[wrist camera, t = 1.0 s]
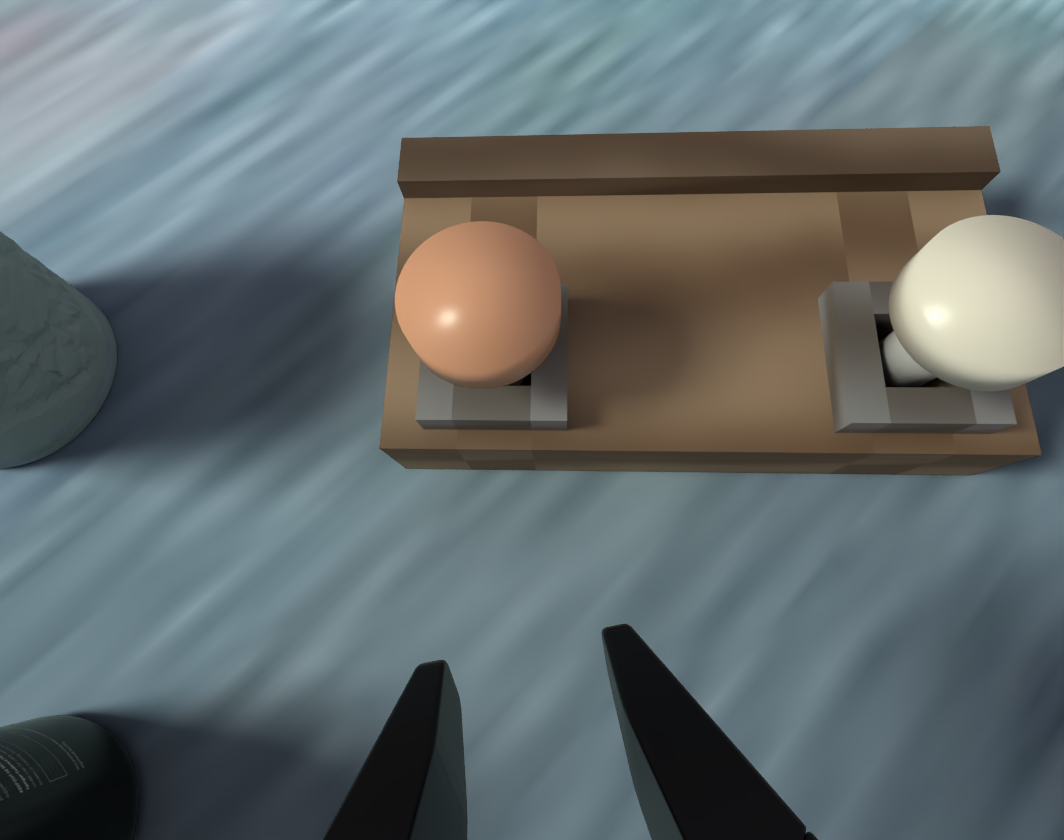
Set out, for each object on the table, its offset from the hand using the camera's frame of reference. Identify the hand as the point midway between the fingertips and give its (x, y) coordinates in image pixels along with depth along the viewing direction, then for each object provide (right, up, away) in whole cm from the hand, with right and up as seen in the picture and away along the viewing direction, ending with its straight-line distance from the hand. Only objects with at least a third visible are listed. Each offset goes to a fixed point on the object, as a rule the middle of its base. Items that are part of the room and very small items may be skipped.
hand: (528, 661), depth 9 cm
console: (+6, +7, +16) cm, 19 cm away
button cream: (+13, +5, +12) cm, 18 cm away
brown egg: (-1, +5, +13) cm, 14 cm away
